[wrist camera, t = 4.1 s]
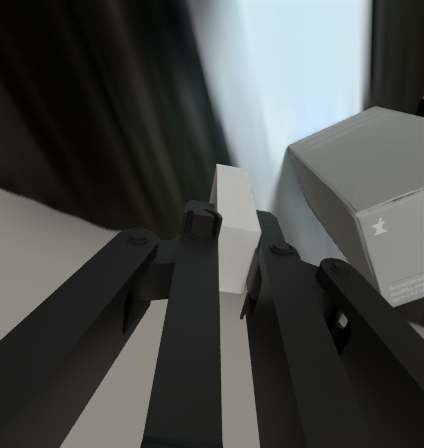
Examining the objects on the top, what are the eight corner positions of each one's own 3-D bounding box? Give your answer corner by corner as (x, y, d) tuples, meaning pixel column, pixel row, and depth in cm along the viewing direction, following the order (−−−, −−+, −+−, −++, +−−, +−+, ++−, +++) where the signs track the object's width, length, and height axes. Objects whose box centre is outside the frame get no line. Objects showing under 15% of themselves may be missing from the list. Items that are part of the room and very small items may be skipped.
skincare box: (306, 203, 32) (377, 325, 18) (282, 135, 29) (345, 219, 15) (395, 168, 30) (551, 274, 16) (380, 92, 27) (555, 142, 13)
